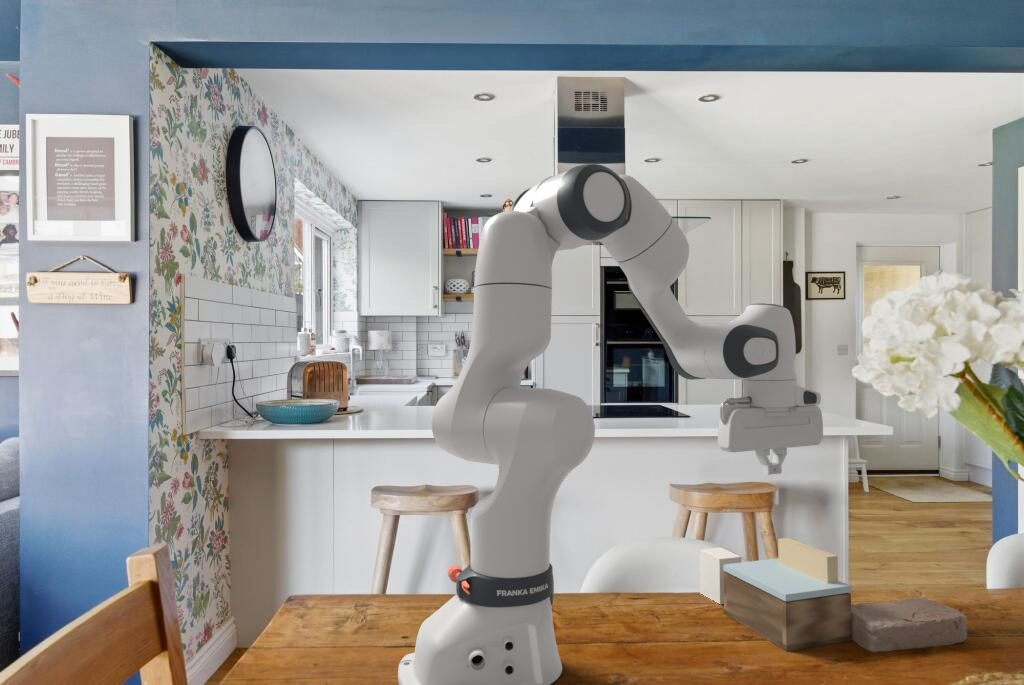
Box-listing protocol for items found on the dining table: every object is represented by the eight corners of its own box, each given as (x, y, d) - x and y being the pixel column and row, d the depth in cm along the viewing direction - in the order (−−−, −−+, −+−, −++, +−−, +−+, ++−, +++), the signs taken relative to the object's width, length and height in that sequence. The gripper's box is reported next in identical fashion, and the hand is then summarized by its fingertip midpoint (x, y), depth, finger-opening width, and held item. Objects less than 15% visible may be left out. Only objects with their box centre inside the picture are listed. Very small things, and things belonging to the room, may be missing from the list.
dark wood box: (786, 651, 97) (785, 602, 97) (724, 613, 111) (723, 571, 112) (851, 640, 101) (850, 593, 101) (783, 605, 115) (782, 564, 115)
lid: (785, 601, 97) (785, 567, 97) (723, 570, 112) (723, 540, 112) (850, 592, 101) (850, 559, 101) (782, 563, 115) (782, 534, 115)
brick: (873, 655, 96) (873, 622, 96) (834, 632, 105) (834, 601, 105) (970, 646, 99) (970, 614, 99) (926, 624, 108) (925, 595, 108)
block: (719, 605, 115) (719, 559, 115) (700, 593, 121) (699, 549, 121) (741, 602, 117) (741, 556, 117) (721, 591, 122) (720, 547, 122)
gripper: (731, 399, 111) (733, 482, 111) (828, 394, 118) (830, 472, 118) (709, 397, 117) (711, 475, 117) (802, 392, 124) (804, 466, 124)
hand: (771, 473), depth 117 cm, fingers closed
